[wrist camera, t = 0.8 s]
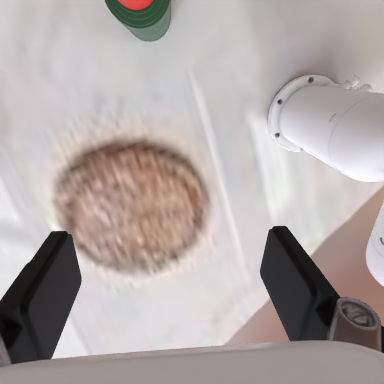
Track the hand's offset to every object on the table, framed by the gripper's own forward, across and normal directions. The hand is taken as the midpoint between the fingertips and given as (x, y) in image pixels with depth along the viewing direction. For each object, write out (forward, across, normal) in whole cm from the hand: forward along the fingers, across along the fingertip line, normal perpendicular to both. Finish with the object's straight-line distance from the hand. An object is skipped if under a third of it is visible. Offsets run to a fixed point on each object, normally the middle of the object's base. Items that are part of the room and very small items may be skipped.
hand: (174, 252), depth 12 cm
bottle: (+33, +3, -14) cm, 36 cm away
